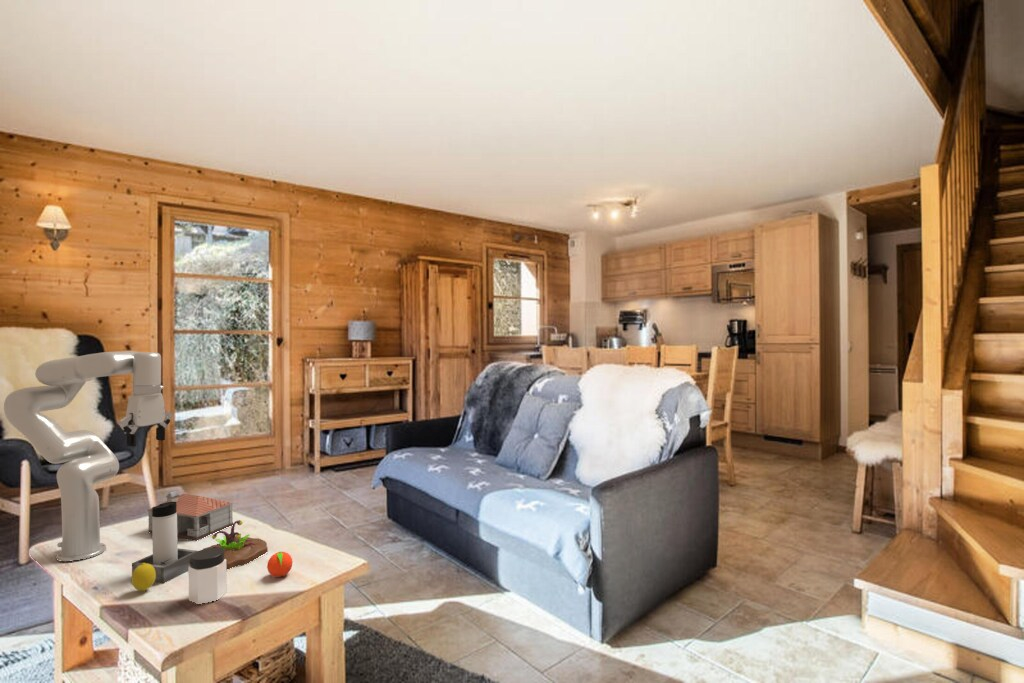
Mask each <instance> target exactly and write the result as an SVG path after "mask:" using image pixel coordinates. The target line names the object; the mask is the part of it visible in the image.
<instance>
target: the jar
mask: <svg viewBox="0 0 1024 683" xmlns="http://www.w3.org/2000/svg"><path fill="white" fill-rule="evenodd" d="M206 548H207V547H206ZM196 551H197V552H195V553H193V554H192V555H191V556H190V566H189V567H188V571H187V572H188V600H189V602H191V601H192V602H191V603H193V602H195V603H196V604H195V603H194V604H195V605H197V604H201V605H203V604H202V603H205V604H209V603H212V601H214V602H217V601H216V600H218V599H219V600H220V599H221V598H222V597H223V596H225V595H226V594H227V593H228V584H227V582H228V581H227V580H228V577H227V571H228V570H227V569H226V559H224V549H222V548H207V549H204V548H202V549H200V550H196ZM219 600H218V601H219ZM208 602H209V603H208Z"/></svg>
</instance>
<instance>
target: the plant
mask: <svg viewBox="0 0 1024 683" xmlns="http://www.w3.org/2000/svg"><path fill="white" fill-rule="evenodd" d="M236 524H237V526H238V525H239V526H241V525H242V524H243V520H240V519H239V520H236V521H233V526H231V527H230V533H228V532H226V531H224V530H222V531H219V532H217V533H215V534H212V535H211V538H212V539H213V540H215V541H216V542H217V543H216V544H213V545H209V546H208V547H204V548H203V549H207V548H222V549H224V559H226V569H229V570H231V569H233V568H236V567H239V566H238V565H241V566H245V565H244V564H246V565H248V564H249V562H250V561H252V562H254V561H255V560H254V559H256V558H258V557H259V556H261V555H263V554H265V553H266V552H268V546H267V541H265V540H263V539H261V538H258V537H256V538H254V537H250V536H251V535H250V534H246V535H245V536H242V533H239V532H237V531H236V532H235V526H236ZM218 534H223V535H224V536H223V539H221V538H217V536H218ZM258 559H259V558H258ZM253 560H254V561H253ZM256 560H257V559H256ZM247 563H248V564H247ZM250 563H251V562H250ZM235 566H236V567H235ZM232 567H233V568H232ZM230 568H231V569H230Z"/></svg>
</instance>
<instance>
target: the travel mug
mask: <svg viewBox="0 0 1024 683" xmlns="http://www.w3.org/2000/svg"><path fill="white" fill-rule="evenodd" d="M162 503H163V504H162ZM162 503H159V504H158V506H157V505H155V506H156V507H155V506H154V505H153V506H152V507H151V508H152V534H151V536H152V554H153V565H160V566H165V565H167V564H169V563H171V562H174V561H176V560H178V548H179V547H178V538H177V510H176V509H177V504H176V502H167V503H164V502H162Z"/></svg>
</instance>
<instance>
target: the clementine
mask: <svg viewBox="0 0 1024 683" xmlns="http://www.w3.org/2000/svg"><path fill="white" fill-rule="evenodd" d="M293 562H294V561H293V557H292V556H291V554H289V553H288V552H287V551H277V552H275V553H273V554H272V556H270V557H269V559H268V560H267V566H266V569H267V572H268V573H269V574H270V575H271V576H272V577H274V578H281V577H284V576H285V575H287V574H288V573H289V572H290V571H291V569H292V567H293Z"/></svg>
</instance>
